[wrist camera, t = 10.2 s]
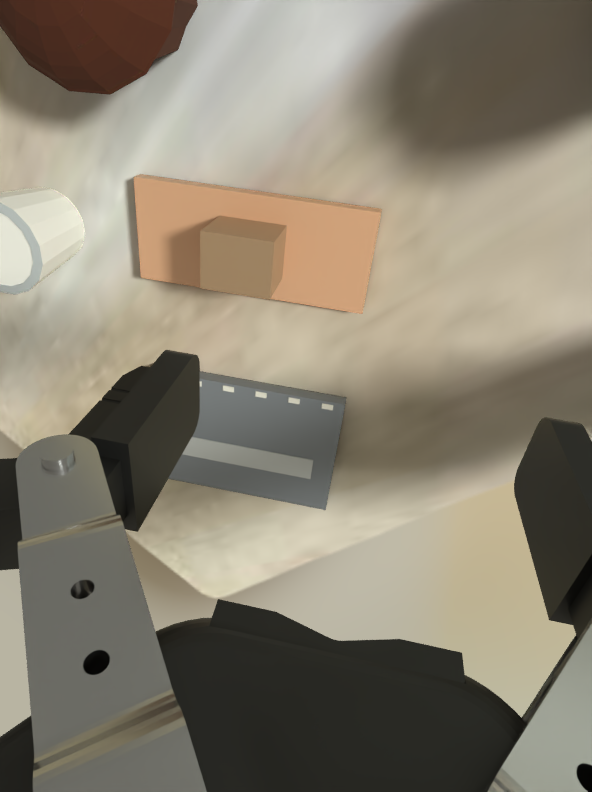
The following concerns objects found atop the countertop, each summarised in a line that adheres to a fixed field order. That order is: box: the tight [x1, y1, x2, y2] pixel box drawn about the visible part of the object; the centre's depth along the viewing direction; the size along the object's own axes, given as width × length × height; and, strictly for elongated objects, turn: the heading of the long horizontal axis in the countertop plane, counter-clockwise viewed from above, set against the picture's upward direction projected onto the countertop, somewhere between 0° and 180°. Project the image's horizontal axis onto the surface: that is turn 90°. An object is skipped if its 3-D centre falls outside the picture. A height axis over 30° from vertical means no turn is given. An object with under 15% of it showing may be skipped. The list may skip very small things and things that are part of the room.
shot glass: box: [0, 187, 85, 295], centre depth 38 cm, size 7×7×7 cm
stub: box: [134, 174, 382, 314], centre depth 36 cm, size 18×8×6 cm, turn 84°
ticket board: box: [168, 372, 346, 510], centre depth 49 cm, size 18×13×1 cm
